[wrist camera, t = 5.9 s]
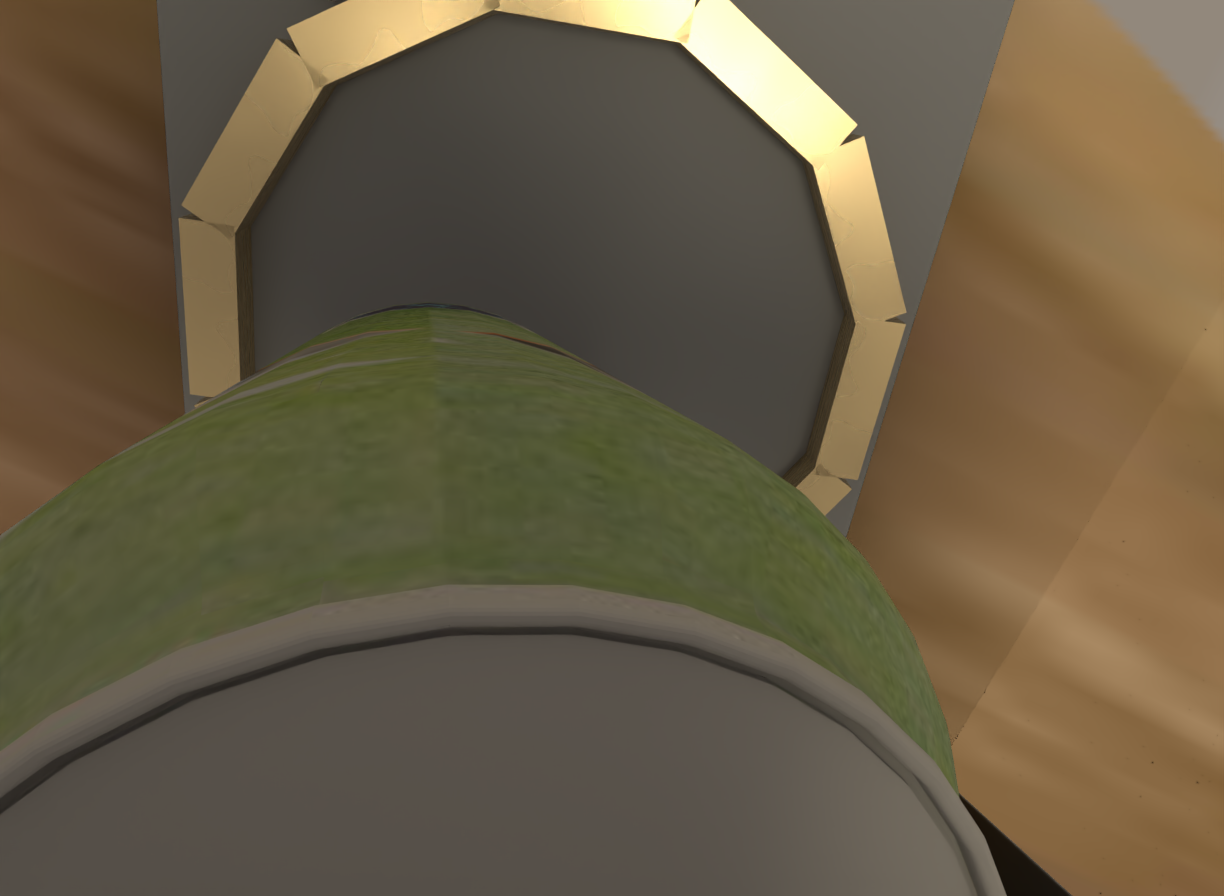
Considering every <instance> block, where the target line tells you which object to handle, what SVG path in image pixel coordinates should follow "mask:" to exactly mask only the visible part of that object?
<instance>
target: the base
mask: <svg viewBox="0 0 1224 896" xmlns="http://www.w3.org/2000/svg"><path fill="white" fill-rule="evenodd" d="M345 1H347V0H338V1H335V2H331V1H328V0H157V13H158V28H159V42H160V57H161V72H162V86H163V101H164V115H165V130H166V145H167V159H168V174H169V188H170V203H171V218H172V232H173V247H174V261H175V276H176V291H177V305H178V320H179V334H180V349H181V364H182V378H183V393H184V407H185V414H186V413H188V412H190V411H191V410H193V409H195V406H194V405H195V404H196V403H197V402H199V401H200V400H201V399H202V398H204V397H205V396H199V395H191V394H190V387H189V372H188V356H187V341H186V325H185V310H184V295H183V279H182V264H181V249H180V233H179V217H182V216H185V215H188V214H191V213H192V212H190V211H189V210H187V209H186V208H184V207H183V206H182V203H183V201H184V199H185V198H186V196H187V194H188V192H189V191H190V189H191V187H192V185H193V184H194V182H195V180H196V178H197V177H198V175H199V173H200V171H201V170H202V168H203V166H204V164H205V162H206V161H207V159H208V157H209V155H210V154H211V152H212V150H213V148H214V147H215V145H216V143H217V141H218V140H219V138H220V136H221V134H222V133H223V131H224V129H225V127H226V126H227V124H228V122H229V120H230V119H231V117H232V115H233V113H234V112H235V110H236V108H237V106H238V105H239V103H240V101H241V99H242V97H243V96H244V94H245V92H246V90H247V89H248V87H249V85H250V83H251V82H252V80H253V78H254V76H255V75H256V73H257V71H258V69H259V68H260V66H261V64H262V62H263V61H264V59H265V57H266V55H267V54H268V52H269V50H270V48H271V47H272V45H273V43H274V41H275V40H276V38H279V39H286V40H292V38H291V36H290V34H289V32H288V30H287V28H289V27H291V26H293V25H295V24H298V23H300V22H302V21H304V20H306V19H308V18H311V17H313V16H315V15H317V14H319V13H321V12H323V11H326V10H328V9H330V8H332V7H334V6H336V5H339V4H341V3H343V2H345ZM697 1H698V0H696V1H695V4H696V2H697ZM729 1H730V2H731V3H732V4H733V5H734V6H735V7H736V8H737V9H738V10H740V11H741V12H742V13H743V14H744V15H745V16H746V17H747V18H748V19H749V20H750V21H751V22H752V23H753V24H754V25H755V26H756V27H757V28H758V29H759V30H760V31H761V32H762V33H763V34H764V35H765V36H766V37H767V38H769V39H770V40H771V41H772V42H773V43H774V44H775V45H776V46H777V47H778V48H779V49H780V50H781V51H782V52H783V53H784V54H785V55H786V56H787V57H788V58H789V59H790V60H791V61H792V62H793V63H794V64H795V65H796V66H797V67H799V68H800V69H801V70H802V71H803V72H804V73H805V74H806V75H807V76H808V77H809V78H810V79H811V80H812V81H813V82H814V83H815V84H816V85H817V86H818V87H819V88H820V89H821V90H822V91H823V92H824V93H825V94H826V95H828V96H829V97H830V98H831V99H832V100H833V101H834V102H835V103H836V104H837V105H838V106H839V107H840V108H841V109H842V110H843V111H844V112H845V113H846V114H847V115H848V116H849V117H850V118H851V119H852V120H853V121H854V122H855V123H856V124H858V125H857V126H856V127H855V128H854V129H853V130H852V132H851V133H850V134H855V135H860V136H864V138H865V142H866V146H867V150H868V154H869V159H870V163H871V167H872V171H873V175H874V179H875V183H876V188H877V192H878V196H879V200H880V204H881V208H882V213H883V217H884V221H885V225H886V229H887V233H888V238H889V242H890V246H891V250H892V254H893V258H894V262H895V267H896V271H897V275H898V279H899V283H900V287H901V292H902V296H903V300H904V304H905V308H906V312H907V313H904V314H901V315H898V316H896V317H897V318H898V319H900V320H901V321H902V322H904V323H905V324H906V326H905V329H904V332H903V336H902V339H901V342H900V345H899V349H898V352H897V355H896V358H895V361H894V365H893V368H892V371H891V374H890V378H889V381H888V384H887V387H886V390H885V394H884V397H883V400H882V403H881V407H880V410H879V413H878V416H877V419H876V423H875V426H874V429H873V432H872V436H871V439H870V442H869V445H868V448H867V452H866V455H865V458H864V461H863V465H862V468H861V471H860V474H859V477H858V480H854V479H846V478H845V479H846V481H847V482H848V484H849V485H850V487H851V488H852V490H851V491H850V492H849V493H848V494H847V495H846V496H845V497H844V498H843V499H841V500H840V501H839V502H838V503H837V504H836V505H835V506H834V507H833V508H832V509H831V510H830V511H829V512H828V513H827V514H826V515H825V517H826V518H827V519H828V520H829V521H830V522H831V523H832V524H833V525H834V526H835V527H836V528H837V529H838V530H839V531H840V532H841V533H842V535H843V536H844V537H845V538H846V536H847V533H848V530H849V526H850V523H851V520H852V517H853V514H854V511H855V507H856V504H857V501H858V498H859V495H860V491H861V488H862V485H863V482H864V479H865V476H866V472H867V469H868V466H869V463H870V460H871V456H872V453H873V450H874V447H875V444H876V440H877V437H878V434H879V431H880V428H881V425H882V421H883V418H884V415H885V412H886V409H887V405H888V402H889V399H890V396H891V393H892V389H893V386H894V383H895V380H896V377H897V374H898V370H899V367H900V364H901V361H902V358H903V354H904V351H905V348H906V345H907V342H908V338H909V335H910V332H911V329H912V326H913V323H914V319H915V316H916V313H917V310H918V307H919V303H920V300H921V297H922V294H923V291H924V287H925V284H926V281H927V278H928V275H929V272H930V268H931V265H932V262H933V259H934V256H935V252H936V249H937V246H938V243H939V240H940V236H941V233H942V230H943V227H944V224H945V221H946V217H947V214H948V211H949V208H950V205H951V201H952V198H953V195H954V192H955V189H956V185H957V182H958V179H959V176H960V173H961V170H962V166H963V163H964V160H965V157H966V154H967V150H968V147H969V144H970V141H971V138H972V134H973V131H974V128H975V125H976V122H977V119H978V115H979V112H980V109H981V106H982V103H983V99H984V96H985V93H986V90H987V87H988V83H989V80H990V77H991V74H992V71H993V68H994V64H995V61H996V58H997V55H998V52H999V48H1000V45H1001V42H1002V39H1003V36H1004V33H1005V29H1006V26H1007V23H1008V20H1009V17H1010V13H1011V10H1012V7H1013V4H1014V1H1015V0H729ZM292 41H293V40H292ZM251 242H252V276H253V311H254V345H255V372H257V371H259V370H260V369H262V368H264V367H265V366H267V365H269V364H270V363H272V362H274V361H275V360H277V359H279V358H281V357H282V356H284V355H286V354H287V353H289V352H291V351H292V350H294V349H296V348H297V347H299V346H301V345H302V344H304V343H306V342H307V341H309V340H311V339H313V338H314V337H316V336H318V335H319V334H321V333H323V332H324V331H326V330H328V329H330V328H332V327H334V326H336V325H338V324H340V323H343V322H345V321H347V320H349V319H351V318H353V317H355V316H357V315H360V314H363V313H367V312H371V311H374V310H378V309H382V308H385V307H389V306H393V305H403V304H414V303H425V302H431V303H443V304H455V305H464V306H468V307H471V308H475V309H479V310H483V311H487V312H490V313H494V314H497V315H499V316H501V317H503V318H506V319H508V320H510V321H512V322H514V323H516V324H519V325H521V326H523V327H525V328H527V329H529V330H531V331H532V332H534V333H536V334H538V335H540V336H541V337H543V338H545V339H547V340H549V341H550V342H552V343H554V344H556V345H558V346H560V347H561V348H563V349H565V350H567V351H569V352H570V353H572V354H574V355H576V356H578V357H579V358H581V359H583V360H585V361H587V362H588V363H590V364H592V365H594V366H596V367H597V368H599V369H601V370H603V371H605V372H606V373H608V374H610V375H612V376H614V377H615V378H617V379H619V380H621V381H623V382H624V383H626V384H628V385H630V386H632V387H633V388H635V389H637V390H639V391H641V392H643V393H644V394H646V395H648V396H650V397H652V398H653V399H655V400H657V401H659V402H661V403H662V404H664V405H666V406H668V407H670V408H671V409H673V410H675V411H677V412H679V413H680V414H682V415H684V416H686V417H688V418H689V419H691V420H693V421H695V422H697V423H698V424H700V425H702V426H704V427H706V428H707V429H709V430H711V431H713V432H715V433H716V434H718V435H720V436H722V437H724V438H725V439H727V440H729V441H730V442H732V443H733V444H734V445H736V446H737V447H739V448H740V449H742V450H743V451H744V452H746V453H747V454H749V455H750V456H751V457H753V458H754V459H756V460H757V461H759V462H760V463H761V464H763V465H764V466H766V467H767V468H768V469H770V470H771V471H773V472H774V473H776V474H777V475H778V476H780V477H781V478H782V477H783V476H784V475H785V473H786V472H787V471H788V470H789V469H790V468H791V467H792V466H793V465H794V464H795V463H796V462H797V461H798V460H799V459H800V458H801V457H802V456H803V455H804V454H805V453H806V450H807V446H808V443H809V439H810V435H811V432H812V428H813V424H814V421H815V417H816V414H817V410H818V406H819V403H820V399H821V395H822V392H823V388H824V385H825V381H826V377H827V374H828V370H829V367H830V363H831V359H832V356H833V352H834V348H835V345H836V341H837V338H838V334H839V330H840V327H841V323H842V320H843V316H844V311H843V308H842V304H841V300H840V297H839V293H838V289H837V286H836V282H835V278H834V275H833V271H832V267H831V264H830V260H829V257H828V253H827V249H826V246H825V242H824V238H823V235H822V231H821V227H820V224H819V220H818V216H817V213H816V209H815V206H814V202H813V198H812V195H811V191H810V187H809V184H808V180H807V176H806V173H805V169H804V165H803V162H802V161H801V160H800V159H799V158H798V157H797V156H796V155H795V154H794V153H793V152H792V151H791V150H790V149H788V148H787V147H786V146H785V145H784V144H783V143H782V142H781V141H780V140H779V139H778V138H777V137H775V136H774V135H773V134H772V133H771V132H770V131H769V130H768V129H767V128H766V127H765V126H764V125H762V124H761V123H760V122H759V121H758V120H757V119H756V118H755V117H754V116H753V115H752V114H751V113H749V112H748V111H747V110H746V109H745V108H744V107H743V106H742V105H741V104H740V103H739V102H738V101H736V100H735V99H734V98H733V97H732V96H731V95H730V94H729V93H728V92H727V91H726V90H725V89H723V88H722V87H721V86H720V85H719V84H718V83H717V82H716V81H715V80H714V79H713V78H712V77H710V76H709V75H708V74H707V73H706V72H705V71H704V70H703V69H702V68H701V67H700V66H699V65H697V64H696V63H695V62H694V61H693V60H692V59H691V58H690V57H689V56H688V55H687V54H686V53H684V52H683V51H682V50H681V49H680V48H679V47H678V46H677V45H676V44H671V43H665V42H660V41H654V40H648V39H642V38H637V37H631V36H625V35H619V34H614V33H608V32H602V31H596V30H591V29H585V28H579V27H573V26H567V25H562V24H556V23H550V22H544V21H539V20H533V19H527V18H521V17H516V16H510V15H504V14H498V13H497V14H495V15H493V16H491V17H488V18H486V19H484V20H482V21H480V22H477V23H475V24H473V25H471V26H468V27H466V28H464V29H462V30H459V31H457V32H455V33H453V34H451V35H448V36H446V37H444V38H442V39H439V40H437V41H435V42H433V43H430V44H428V45H426V46H424V47H422V48H419V49H417V50H415V51H413V52H410V53H408V54H406V55H404V56H401V57H399V58H397V59H395V60H393V61H390V62H388V63H386V64H384V65H381V66H379V67H377V68H375V69H372V70H370V71H368V72H366V73H364V74H361V75H359V76H357V77H355V78H352V79H350V80H348V81H346V82H343V83H341V84H339V85H337V86H336V88H335V89H334V91H333V93H332V94H331V96H330V98H329V99H328V101H327V103H326V104H325V106H324V107H323V109H322V111H321V112H320V114H319V116H318V117H317V119H316V121H315V122H314V124H313V126H312V127H311V129H310V130H309V132H308V134H307V135H306V137H305V139H304V140H303V142H302V144H301V145H300V147H299V149H298V150H297V152H296V153H295V155H294V157H293V158H292V160H291V162H290V163H289V165H288V167H287V168H286V170H285V172H284V173H283V175H282V176H281V178H280V180H279V181H278V183H277V185H276V186H275V188H274V190H273V191H272V193H271V195H270V196H269V198H268V200H267V201H266V203H265V204H264V206H263V208H262V209H261V211H260V213H259V214H258V216H257V218H256V219H255V221H254V223H253V224H252V226H251Z"/></svg>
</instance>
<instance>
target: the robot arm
mask: <svg viewBox="0 0 1224 896" xmlns="http://www.w3.org/2000/svg"><path fill="white" fill-rule="evenodd" d="M959 798H960V800H961V802H962V803H963V805H964V806H965V808H966V809H967V811H968V812H969V814H970V815H971V817H972V818H973V820H974V821H975V823H976V824H977V826H978V827H979V829H980V830H981V832H982V834H983V835H984V837H985V839H986V842H987V845H988V847H989V850H990V852H991V855H992V858H993V860H994V863H995V866H996V868H997V871H998V874H999V876H1000V879H1001V882H1002V884H1003V887H1004V890H1005V892H1006V895H1007V896H1072V895H1071V894H1070V893H1069V892H1067V891H1066V890H1065V889H1064V888H1063V887H1062V886H1061V885H1060V884H1059V883H1058V882H1056V881H1055V880H1054V879H1053V878H1052V877H1051V876H1050V875H1049V874H1048V873H1047V872H1045V871H1044V870H1043V869H1042V868H1041V867H1040V866H1039V865H1038V864H1037V863H1036V862H1034V861H1033V860H1032V859H1031V858H1030V857H1029V856H1028V855H1027V854H1026V853H1024V852H1023V851H1022V850H1021V849H1020V848H1019V847H1018V846H1017V845H1016V844H1015V843H1013V842H1012V841H1011V840H1010V839H1009V838H1008V837H1007V836H1006V835H1005V834H1004V833H1002V832H1001V831H1000V830H999V829H998V828H997V827H996V826H995V825H994V824H993V823H991V822H990V821H989V820H988V819H987V818H986V817H985V816H984V815H983V814H981V813H980V812H979V811H978V810H977V809H976V808H975V807H974V806H973V805H972V804H970V803H969V802H968V801H967V800H966V799H965V798H964V797H963V796H962V795H961V794H959Z"/></svg>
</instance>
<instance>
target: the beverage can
mask: <svg viewBox="0 0 1224 896" xmlns="http://www.w3.org/2000/svg"><path fill="white" fill-rule="evenodd" d="M0 896H1007V895H1006V892H1005V890H1004V887H1003V884H1002V882H1001V879H1000V876H999V874H998V871H997V868H996V866H995V863H994V860H993V858H992V855H991V852H990V850H989V847H988V845H987V842H986V839H985V837H984V835H983V834H982V832H981V830H980V829H979V827H978V826H977V824H976V823H975V821H974V820H973V818H972V817H971V815H970V814H969V812H968V811H967V809H966V808H965V806H964V805H963V803H962V802H961V800H960V798H959V792H958V786H957V780H956V774H955V768H954V761H953V755H952V749H951V743H950V738H949V733H948V728H947V724H946V721H945V718H944V715H943V713H942V710H941V707H940V705H939V702H938V699H937V697H936V694H935V691H934V689H933V686H932V683H931V681H930V678H929V675H928V673H927V670H926V667H925V665H924V662H923V659H922V657H921V654H920V651H919V649H918V646H917V643H916V640H915V638H914V636H913V634H912V633H911V631H910V629H909V627H908V626H907V624H906V623H905V621H904V619H903V618H902V616H901V615H900V613H899V611H898V610H897V608H896V607H895V605H894V603H893V602H892V600H891V599H890V597H889V595H888V594H887V592H886V591H885V589H884V587H883V586H882V584H881V583H880V581H879V579H878V578H877V576H876V575H875V573H874V571H873V570H872V568H871V567H870V565H869V563H868V562H867V561H866V559H865V558H864V557H863V556H862V555H861V553H860V552H859V551H858V550H857V549H856V548H855V547H854V546H853V545H852V544H851V543H850V542H849V541H848V540H847V539H846V538H845V537H844V536H843V535H842V533H841V532H840V531H839V530H838V529H837V528H836V527H835V526H834V525H833V524H832V523H831V522H830V521H829V520H828V519H827V518H826V517H825V516H824V515H823V513H822V512H821V511H820V510H819V509H818V508H817V507H816V506H815V505H814V504H813V503H812V502H811V501H810V500H809V499H808V498H807V497H806V496H805V495H804V494H803V493H802V492H801V491H800V490H798V489H797V488H795V487H794V486H793V485H791V484H790V483H788V482H787V481H786V480H784V479H783V478H781V477H780V476H778V475H777V474H776V473H774V472H773V471H771V470H770V469H768V468H767V467H766V466H764V465H763V464H761V463H760V462H759V461H757V460H756V459H754V458H753V457H751V456H750V455H749V454H747V453H746V452H744V451H743V450H742V449H740V448H739V447H737V446H736V445H734V444H733V443H732V442H730V441H729V440H727V439H725V438H724V437H722V436H720V435H718V434H716V433H715V432H713V431H711V430H709V429H707V428H706V427H704V426H702V425H700V424H698V423H697V422H695V421H693V420H691V419H689V418H688V417H686V416H684V415H682V414H680V413H679V412H677V411H675V410H673V409H671V408H670V407H668V406H666V405H664V404H662V403H661V402H659V401H657V400H655V399H653V398H652V397H650V396H648V395H646V394H644V393H643V392H641V391H639V390H637V389H635V388H633V387H632V386H630V385H628V384H626V383H624V382H623V381H621V380H619V379H617V378H615V377H614V376H612V375H610V374H608V373H606V372H605V371H603V370H601V369H599V368H597V367H596V366H594V365H592V364H590V363H588V362H587V361H585V360H583V359H581V358H579V357H578V356H576V355H574V354H572V353H570V352H569V351H567V350H565V349H563V348H561V347H560V346H558V345H556V344H554V343H552V342H550V341H549V340H547V339H545V338H543V337H541V336H540V335H538V334H536V333H534V332H532V331H531V330H529V329H527V328H525V327H523V326H521V325H519V324H516V323H514V322H512V321H510V320H508V319H506V318H503V317H501V316H499V315H497V314H494V313H490V312H487V311H483V310H479V309H475V308H471V307H468V306H464V305H455V304H443V303H431V302H425V303H414V304H403V305H393V306H389V307H385V308H382V309H378V310H374V311H371V312H367V313H363V314H360V315H357V316H355V317H353V318H351V319H349V320H347V321H345V322H343V323H340V324H338V325H336V326H334V327H332V328H330V329H328V330H326V331H324V332H323V333H321V334H319V335H318V336H316V337H314V338H313V339H311V340H309V341H307V342H306V343H304V344H302V345H301V346H299V347H297V348H296V349H294V350H292V351H291V352H289V353H287V354H286V355H284V356H282V357H281V358H279V359H277V360H275V361H274V362H272V363H270V364H269V365H267V366H265V367H264V368H262V369H260V370H259V371H257V372H255V373H254V374H252V375H250V376H249V377H247V378H245V379H243V380H242V381H240V382H238V383H237V384H235V385H233V386H232V387H230V388H228V389H227V390H225V391H223V392H222V393H220V394H218V395H216V396H215V397H213V398H211V399H210V400H208V401H206V402H205V403H203V404H201V405H200V406H198V407H196V408H195V409H193V410H191V411H190V412H188V413H186V414H184V415H183V416H181V417H179V418H178V419H176V420H174V421H173V422H171V423H169V424H168V425H166V426H164V427H163V428H161V429H159V430H158V431H156V432H154V433H152V434H151V435H149V436H147V437H146V438H144V439H142V440H141V441H139V442H137V443H136V444H134V445H132V446H131V447H129V448H127V449H125V450H124V451H122V452H120V453H119V454H117V455H115V456H114V457H112V458H110V459H109V460H107V461H105V462H104V463H102V464H100V465H99V466H97V467H96V468H94V469H93V470H92V471H90V472H89V473H87V474H86V475H84V476H83V477H82V478H80V479H79V480H77V481H76V482H75V483H73V484H72V485H70V486H69V487H68V488H66V489H65V490H63V491H62V492H61V493H59V494H58V495H56V496H55V497H54V498H52V499H51V500H49V501H48V502H46V503H45V504H44V505H42V506H41V507H39V508H38V509H37V510H35V511H34V512H32V513H31V514H30V515H28V516H27V517H25V518H24V519H23V520H21V521H20V522H18V523H17V524H15V525H14V526H13V527H11V528H10V529H8V530H7V531H6V532H4V533H3V534H1V535H0Z"/></svg>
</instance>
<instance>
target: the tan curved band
mask: <svg viewBox="0 0 1224 896" xmlns="http://www.w3.org/2000/svg"><path fill="white" fill-rule="evenodd" d="M328 1H331V2H335V1H338V0H328ZM695 1H696V0H347V1H345V2H343V3H341V4H339V5H336V6H334V7H332V8H330V9H328V10H326V11H323V12H321V13H319V14H317V15H315V16H313V17H311V18H308V19H306V20H304V21H302V22H300V23H298V24H295V25H293V26H291V27H289V28H287V30H288V32H289V34H290V36H291V38H292V40H293V41H292V40H286V39H279V38H276V40H275V41H274V43H273V45H272V47H271V48H270V50H269V52H268V54H267V55H266V57H265V59H264V61H263V62H262V64H261V66H260V68H259V69H258V71H257V73H256V75H255V76H254V78H253V80H252V82H251V83H250V85H249V87H248V89H247V90H246V92H245V94H244V96H243V97H242V99H241V101H240V103H239V105H238V106H237V108H236V110H235V112H234V113H233V115H232V117H231V119H230V120H229V122H228V124H227V126H226V127H225V129H224V131H223V133H222V134H221V136H220V138H219V140H218V141H217V143H216V145H215V147H214V148H213V150H212V152H211V154H210V155H209V157H208V159H207V161H206V162H205V164H204V166H203V168H202V170H201V171H200V173H199V175H198V177H197V178H196V180H195V182H194V184H193V185H192V187H191V189H190V191H189V192H188V194H187V196H186V198H185V199H184V201H183V203H182V206H183V207H184V208H186V209H187V210H189V211H190V212H192V213H191V214H188V215H185V216H182V217H179V233H180V249H181V264H182V279H183V295H184V310H185V325H186V341H187V356H188V372H189V387H190V394H191V395H199V396H205V397H204V398H202V399H201V400H200V401H199V402H197V403H196V404H195V405H194V406H195V408H196V407H198V406H200V405H201V404H203V403H205V402H206V401H208V400H210V399H211V398H213V397H215V396H216V395H218V394H220V393H222V392H223V391H225V390H227V389H228V388H230V387H232V386H233V385H235V384H237V383H238V382H240V381H242V380H243V379H245V378H247V377H249V376H250V375H252V374H254V373H255V345H254V311H253V276H252V242H251V226H252V224H253V223H254V221H255V219H256V218H257V216H258V214H259V213H260V211H261V209H262V208H263V206H264V204H265V203H266V201H267V200H268V198H269V196H270V195H271V193H272V191H273V190H274V188H275V186H276V185H277V183H278V181H279V180H280V178H281V176H282V175H283V173H284V172H285V170H286V168H287V167H288V165H289V163H290V162H291V160H292V158H293V157H294V155H295V153H296V152H297V150H298V149H299V147H300V145H301V144H302V142H303V140H304V139H305V137H306V135H307V134H308V132H309V130H310V129H311V127H312V126H313V124H314V122H315V121H316V119H317V117H318V116H319V114H320V112H321V111H322V109H323V107H324V106H325V104H326V103H327V101H328V99H329V98H330V96H331V94H332V93H333V91H334V89H335V88H336V86H337V85H339V84H341V83H343V82H346V81H348V80H350V79H352V78H355V77H357V76H359V75H361V74H364V73H366V72H368V71H370V70H372V69H375V68H377V67H379V66H381V65H384V64H386V63H388V62H390V61H393V60H395V59H397V58H399V57H401V56H404V55H406V54H408V53H410V52H413V51H415V50H417V49H419V48H422V47H424V46H426V45H428V44H430V43H433V42H435V41H437V40H439V39H442V38H444V37H446V36H448V35H451V34H453V33H455V32H457V31H459V30H462V29H464V28H466V27H468V26H471V25H473V24H475V23H477V22H480V21H482V20H484V19H486V18H488V17H491V16H493V15H495V14H497V13H498V14H504V15H510V16H516V17H521V18H527V19H533V20H539V21H544V22H550V23H556V24H562V25H567V26H573V27H579V28H585V29H591V30H596V31H602V32H608V33H614V34H619V35H625V36H631V37H637V38H642V39H648V40H654V41H660V42H665V43H671V44H676V45H677V46H678V47H679V48H680V49H681V50H682V51H683V52H684V53H686V54H687V55H688V56H689V57H690V58H691V59H692V60H693V61H694V62H695V63H696V64H697V65H699V66H700V67H701V68H702V69H703V70H704V71H705V72H706V73H707V74H708V75H709V76H710V77H712V78H713V79H714V80H715V81H716V82H717V83H718V84H719V85H720V86H721V87H722V88H723V89H725V90H726V91H727V92H728V93H729V94H730V95H731V96H732V97H733V98H734V99H735V100H736V101H738V102H739V103H740V104H741V105H742V106H743V107H744V108H745V109H746V110H747V111H748V112H749V113H751V114H752V115H753V116H754V117H755V118H756V119H757V120H758V121H759V122H760V123H761V124H762V125H764V126H765V127H766V128H767V129H768V130H769V131H770V132H771V133H772V134H773V135H774V136H775V137H777V138H778V139H779V140H780V141H781V142H782V143H783V144H784V145H785V146H786V147H787V148H788V149H790V150H791V151H792V152H793V153H794V154H795V155H796V156H797V157H798V158H799V159H800V160H801V161H802V162H803V165H804V169H805V173H806V176H807V180H808V184H809V187H810V191H811V195H812V198H813V202H814V206H815V209H816V213H817V216H818V220H819V224H820V227H821V231H822V235H823V238H824V242H825V246H826V249H827V253H828V257H829V260H830V264H831V267H832V271H833V275H834V278H835V282H836V286H837V289H838V293H839V297H840V300H841V304H842V308H843V311H844V316H843V320H842V323H841V327H840V330H839V334H838V338H837V341H836V345H835V348H834V352H833V356H832V359H831V363H830V367H829V370H828V374H827V377H826V381H825V385H824V388H823V392H822V395H821V399H820V403H819V406H818V410H817V414H816V417H815V421H814V424H813V428H812V432H811V435H810V439H809V443H808V446H807V450H806V453H805V454H804V455H803V456H802V457H801V458H800V459H799V460H798V461H797V462H796V463H795V464H794V465H793V466H792V467H791V468H790V469H789V470H788V471H787V472H786V473H785V475H784V476H783V477H782V478H783V479H784V480H786V481H787V482H788V483H790V484H791V485H793V486H794V487H795V488H797V489H798V490H800V491H801V492H802V493H803V494H804V495H805V496H806V497H807V498H808V499H809V500H810V501H811V502H812V503H813V504H814V505H815V506H816V507H817V508H818V509H819V510H820V511H821V512H822V513H823V515H824V516H825V515H826V514H827V513H828V512H829V511H830V510H831V509H832V508H833V507H834V506H835V505H836V504H837V503H838V502H839V501H840V500H841V499H843V498H844V497H845V496H846V495H847V494H848V493H849V492H850V491H851V490H852V488H851V487H850V485H849V484H848V482H847V481H846V479H854V480H858V477H859V474H860V471H861V468H862V465H863V461H864V458H865V455H866V452H867V448H868V445H869V442H870V439H871V436H872V432H873V429H874V426H875V423H876V419H877V416H878V413H879V410H880V407H881V403H882V400H883V397H884V394H885V390H886V387H887V384H888V381H889V378H890V374H891V371H892V368H893V365H894V361H895V358H896V355H897V352H898V349H899V345H900V342H901V339H902V336H903V332H904V329H905V326H906V324H905V323H904V322H902V321H901V320H900V319H898V318H897V317H896V316H898V315H901V314H904V313H907V312H906V308H905V304H904V300H903V296H902V292H901V287H900V283H899V279H898V275H897V271H896V267H895V262H894V258H893V254H892V250H891V246H890V242H889V238H888V233H887V229H886V225H885V221H884V217H883V213H882V208H881V204H880V200H879V196H878V192H877V188H876V183H875V179H874V175H873V171H872V167H871V163H870V159H869V154H868V150H867V146H866V142H865V138H864V136H860V135H855V134H850V133H851V132H852V130H853V129H854V128H855V127H856V126H857V125H858V124H856V123H855V122H854V121H853V120H852V119H851V118H850V117H849V116H848V115H847V114H846V113H845V112H844V111H843V110H842V109H841V108H840V107H839V106H838V105H837V104H836V103H835V102H834V101H833V100H832V99H831V98H830V97H829V96H828V95H826V94H825V93H824V92H823V91H822V90H821V89H820V88H819V87H818V86H817V85H816V84H815V83H814V82H813V81H812V80H811V79H810V78H809V77H808V76H807V75H806V74H805V73H804V72H803V71H802V70H801V69H800V68H799V67H797V66H796V65H795V64H794V63H793V62H792V61H791V60H790V59H789V58H788V57H787V56H786V55H785V54H784V53H783V52H782V51H781V50H780V49H779V48H778V47H777V46H776V45H775V44H774V43H773V42H772V41H771V40H770V39H769V38H767V37H766V36H765V35H764V34H763V33H762V32H761V31H760V30H759V29H758V28H757V27H756V26H755V25H754V24H753V23H752V22H751V21H750V20H749V19H748V18H747V17H746V16H745V15H744V14H743V13H742V12H741V11H740V10H738V9H737V8H736V7H735V6H734V5H733V4H732V3H731V2H730V1H729V0H698V1H697V2H696V4H695ZM845 478H846V479H845Z"/></svg>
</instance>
